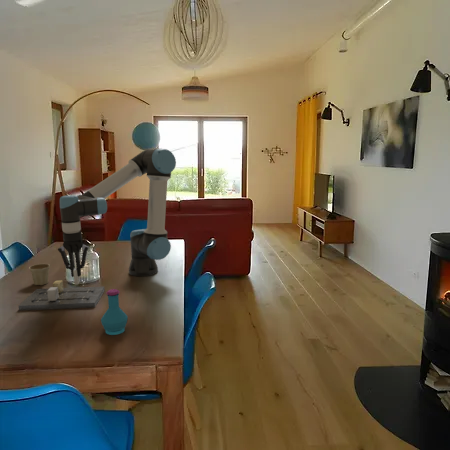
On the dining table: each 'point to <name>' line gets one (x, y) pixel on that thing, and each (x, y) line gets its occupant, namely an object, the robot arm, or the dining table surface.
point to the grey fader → (53, 294)
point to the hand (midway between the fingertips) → (77, 283)
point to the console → (63, 299)
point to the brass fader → (58, 285)
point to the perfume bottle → (114, 315)
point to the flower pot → (40, 273)
